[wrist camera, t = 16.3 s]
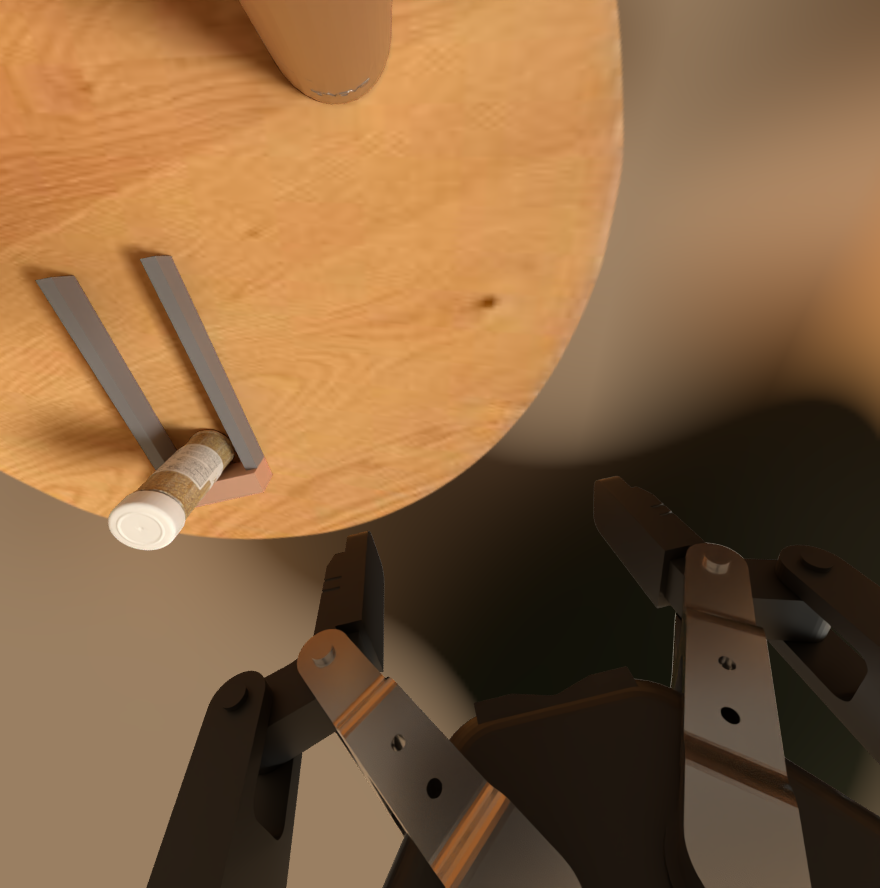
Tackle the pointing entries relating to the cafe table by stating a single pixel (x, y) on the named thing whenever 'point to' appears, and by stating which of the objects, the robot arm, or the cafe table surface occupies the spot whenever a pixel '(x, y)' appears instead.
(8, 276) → the cafe table surface
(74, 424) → the cafe table surface
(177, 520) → the sprinkles bottle
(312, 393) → the cafe table surface
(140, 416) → the guide channel
